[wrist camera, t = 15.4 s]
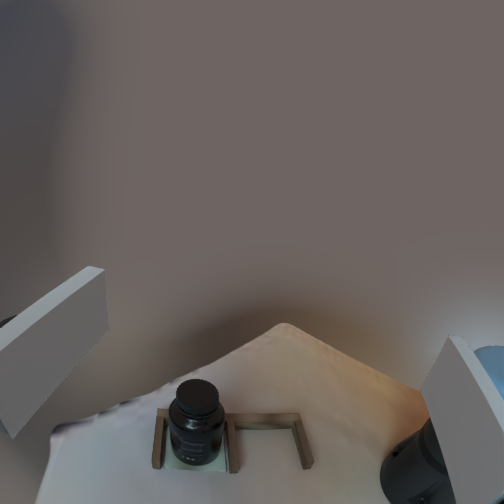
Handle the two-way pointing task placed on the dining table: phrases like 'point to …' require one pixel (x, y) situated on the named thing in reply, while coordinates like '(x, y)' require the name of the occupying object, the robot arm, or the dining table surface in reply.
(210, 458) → the supplement bottle
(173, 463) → the notch rail
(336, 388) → the dining table surface
